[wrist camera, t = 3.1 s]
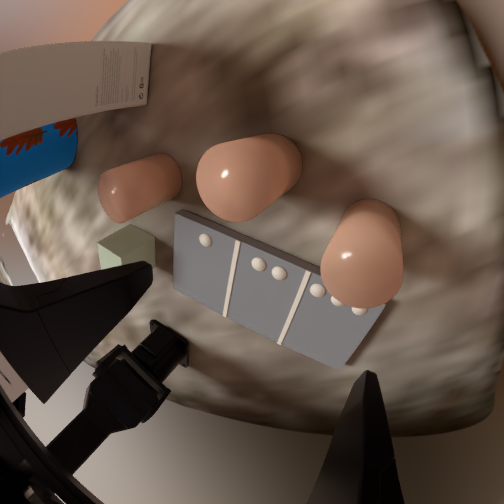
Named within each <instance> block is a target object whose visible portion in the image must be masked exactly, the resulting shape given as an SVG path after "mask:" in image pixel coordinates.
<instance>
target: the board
mask: <svg viewBox="0 0 504 504" xmlns="http://www.w3.org/2000/svg"><path fill="white" fill-rule="evenodd" d="M173 288H174V289H176V290H178V291H179V292H181V293H183V294H185V295H186V296H188V297H190V298H192V299H194V300H195V301H197V302H199V303H201V304H203V305H204V306H206V307H208V308H210V309H212V310H214V311H216V312H218V313H219V314H221V315H223V317H225V318H226V317H227V318H229V319H231V320H233V321H235V322H237V323H239V324H241V325H243V326H245V327H247V328H249V329H251V330H253V331H255V332H257V333H259V334H261V335H263V336H265V337H267V338H269V339H271V340H273V341H275V342H277V344H280V345H284V346H286V347H288V348H290V349H292V350H294V351H296V352H299V353H301V354H303V355H305V356H308V357H310V358H312V359H314V360H317V361H319V362H321V363H323V364H326V365H328V366H330V367H333V368H335V369H338V370H340V369H341V368H342V367H343V366H344V364H345V363H346V362H347V360H348V359H349V358H350V356H351V355H352V354H353V352H354V351H355V350H356V348H357V347H358V345H359V344H360V343H361V341H362V340H363V338H364V337H365V336H366V334H367V333H368V331H369V330H370V328H371V327H372V325H373V324H374V322H375V321H376V319H377V318H378V316H379V315H380V313H381V312H382V310H383V309H384V307H385V306H386V303H385V304H383V305H380V306H377V307H374V308H367V309H360V308H354V307H350V306H347V305H345V304H343V303H341V302H339V301H338V300H336V299H335V298H334V297H333V296H332V295H331V294H330V293H329V292H328V290H327V289H326V287H325V286H324V284H323V281H322V278H321V272H320V268H319V267H317V266H315V265H312V264H310V263H308V262H306V261H303V260H301V259H299V258H296V257H294V256H292V255H289V254H287V253H285V252H282V251H280V250H278V249H275V248H273V247H271V246H268V245H266V244H264V243H261V242H259V241H256V240H254V239H252V238H249V237H247V236H245V235H242V234H240V233H238V232H235V231H233V230H230V229H228V228H226V227H223V226H221V225H219V224H216V223H214V222H211V221H209V220H207V219H204V218H202V217H199V216H197V215H195V214H192V213H190V212H187V211H185V210H180V211H178V212H176V213H175V227H174V258H173Z"/></svg>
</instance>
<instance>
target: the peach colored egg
mask: <svg viewBox="0 0 504 504" xmlns="http://www.w3.org/2000/svg"><path fill="white" fill-rule="evenodd" d="M320 272H321V278H322V281H323V284H324V286H325V287H326V289H327V290H328V292H329V293H330V294H331V295H332V296H333V297H334V298H335V299H336V300H338V301H339V302H341V303H343V304H345V305H347V306H350V307H354V308H360V309H367V308H374V307H377V306H380V305H383V304H385V303H386V302H388V301H389V300H390V299H392V298H393V297H394V296H395V295H396V293H397V292H398V290H399V288H400V286H401V284H402V280H403V254H402V240H401V228H400V222H399V219H398V217H397V215H396V213H395V212H394V211H393V209H392V208H391V207H389V206H388V205H387V204H385V203H383V202H381V201H379V200H375V199H363V200H359V201H357V202H355V203H353V204H351V205H350V206H349V207H348V208H347V209H346V210H345V212H344V213H343V215H342V217H341V219H340V222H339V224H338V226H337V228H336V230H335V232H334V234H333V236H332V239H331V241H330V243H329V245H328V247H327V249H326V251H325V253H324V255H323V257H322V260H321V266H320Z"/></svg>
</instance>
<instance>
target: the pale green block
mask: <svg viewBox="0 0 504 504" xmlns="http://www.w3.org/2000/svg"><path fill="white" fill-rule="evenodd" d="M97 245H98V252H99V258H100V264H101V270H102V269H107V268H111V267H116V266H120V265H125V264H129V263H134V262H138V261H146V262H148V263H150V264H151V265H152V269H153V268H154V267H155V266H156V264H155V237H154V236H152V235H151V234H149V233H147V232H145V231H143V230H141V229H139V228H137V227H135V226H133V225H131V224H130V225H128V226H126V227H124V228H122V229H120V230H118V231H117V232H115V233H113V234H111V235H109V236H108V237H106V238H104V239H102V240H101V241H99V242H97Z"/></svg>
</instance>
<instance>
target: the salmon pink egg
mask: <svg viewBox="0 0 504 504" xmlns="http://www.w3.org/2000/svg"><path fill="white" fill-rule="evenodd" d="M301 173H302V158H301V155H300V152H299V150H298V148H297V147H296V146H295V144H294V143H293V142H292V141H291V140H289V139H288V138H286V137H284V136H282V135H279V134H274V133H269V134H263V135H257V136H252V137H247V138H243V139H238V140H233V141H229V142H225V143H221V144H217V145H215V146H213V147H211V148H210V149H208V150H207V151H206V152H205V153H204V155H203V156H202V157H201V159H200V161H199V164H198V167H197V172H196V183H197V188H198V191H199V194H200V196H201V198H202V200H203V202H204V203H205V205H206V206H207V207H208V209H209V210H210V211H211V212H213V213H214V214H215V215H216V216H218V217H220V218H222V219H224V220H226V221H230V222H244V221H248V220H250V219H252V218H254V217H255V216H257V215H258V214H259V213H260V212H262V211H263V210H264V209H265V208H267V207H268V206H269V205H270V204H272V203H273V202H274V201H275V200H277V199H278V198H279V197H281V196H282V195H283V194H284V193H286V192H287V191H288V190H289V189H291V188H292V187H293V186H294V185H295V184H296V183H297V182H298V180H299V178H300V176H301Z"/></svg>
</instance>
